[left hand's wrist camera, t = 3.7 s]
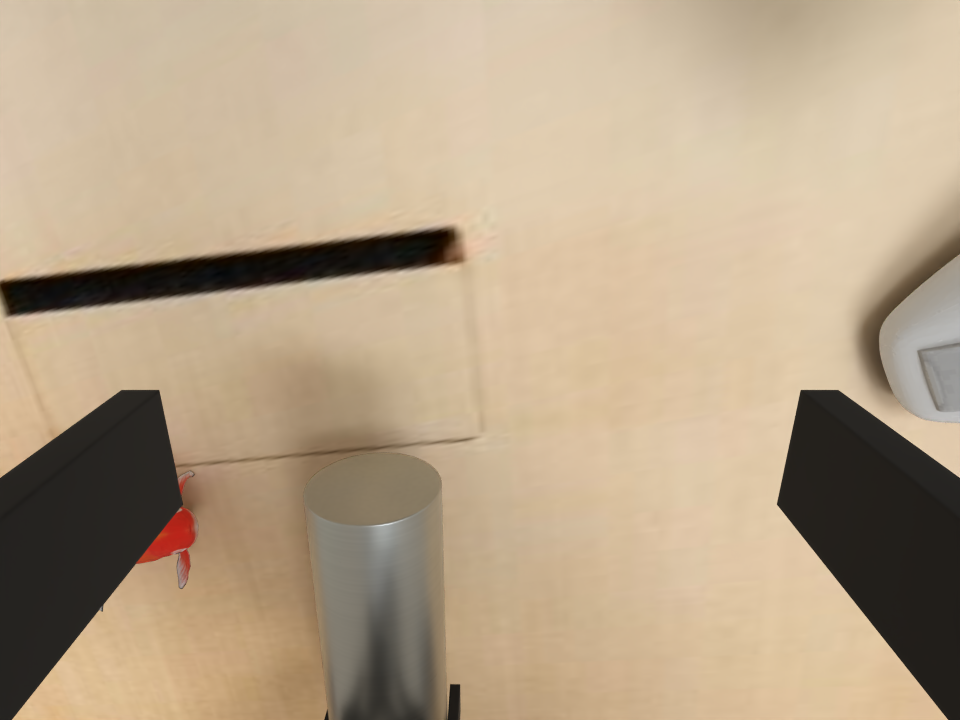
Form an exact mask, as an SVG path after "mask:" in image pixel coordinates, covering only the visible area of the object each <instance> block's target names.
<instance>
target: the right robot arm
mask: <svg viewBox="0 0 960 720" xmlns="http://www.w3.org/2000/svg"><path fill="white" fill-rule="evenodd" d="M324 720H329V716H328V709H327V712H326V716H325V719H324ZM448 720H460V684H450V696H449V710H448Z"/></svg>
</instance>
